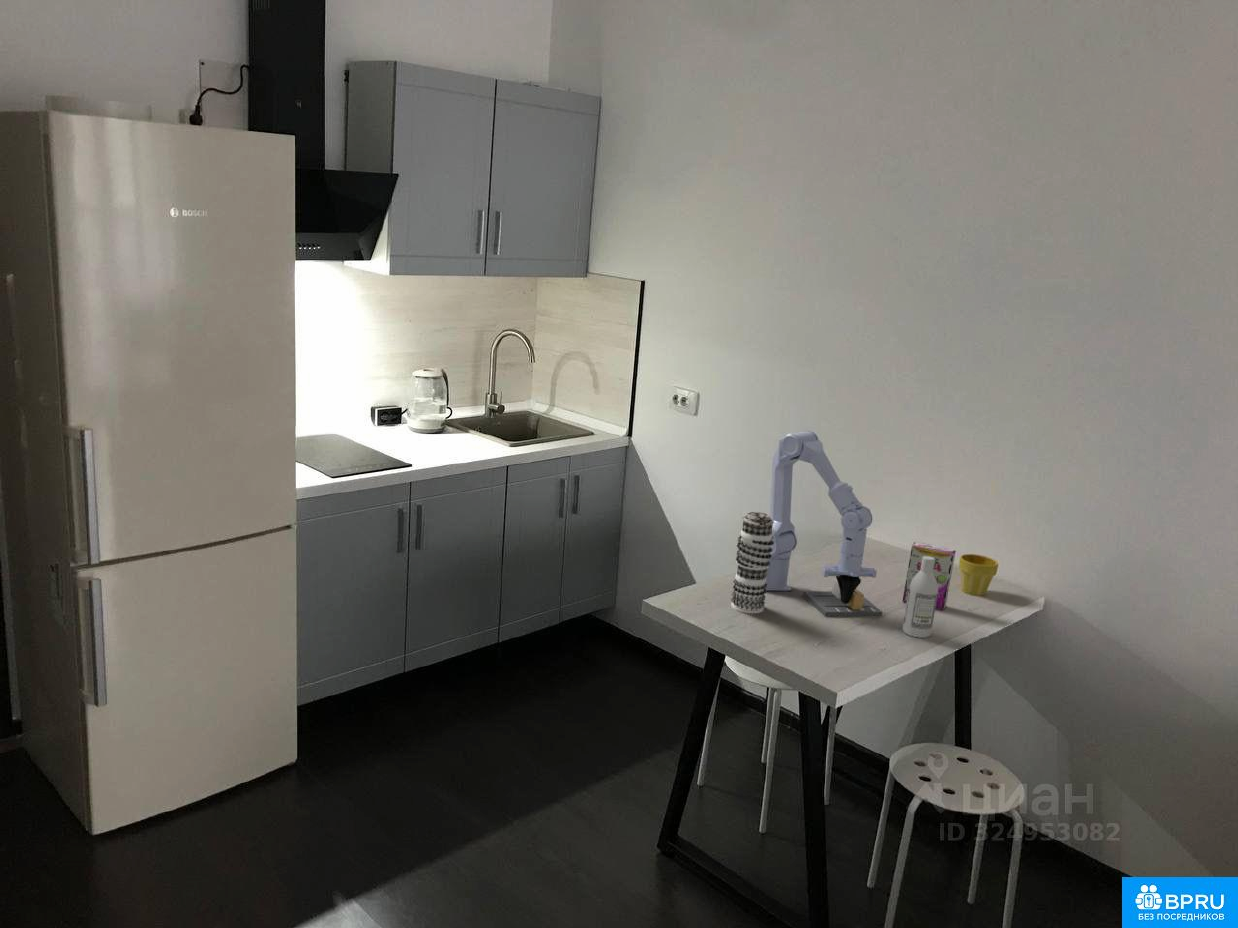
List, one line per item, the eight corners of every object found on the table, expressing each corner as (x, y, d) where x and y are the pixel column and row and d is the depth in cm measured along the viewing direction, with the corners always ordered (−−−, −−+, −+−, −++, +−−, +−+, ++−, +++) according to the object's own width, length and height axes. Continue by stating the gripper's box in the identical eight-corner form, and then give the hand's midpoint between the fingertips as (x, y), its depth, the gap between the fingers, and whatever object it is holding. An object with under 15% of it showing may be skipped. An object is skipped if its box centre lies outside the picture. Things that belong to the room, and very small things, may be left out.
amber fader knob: (853, 609, 269) (855, 594, 268) (845, 603, 273) (847, 588, 273) (861, 609, 270) (864, 594, 269) (854, 603, 274) (856, 588, 273)
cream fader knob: (838, 598, 276) (840, 584, 275) (831, 592, 280) (834, 578, 280) (847, 598, 277) (849, 584, 276) (840, 592, 281) (842, 578, 280)
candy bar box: (901, 602, 282) (911, 545, 278) (905, 597, 286) (914, 540, 283) (943, 611, 278) (953, 553, 274) (946, 606, 282) (956, 549, 278)
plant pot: (987, 601, 289) (993, 568, 287) (950, 591, 295) (955, 558, 292) (996, 592, 298) (1002, 560, 295) (960, 582, 303) (966, 551, 301)
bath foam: (936, 637, 259) (949, 561, 254) (915, 639, 255) (927, 563, 251) (917, 626, 265) (929, 552, 260) (896, 629, 262) (908, 554, 257)
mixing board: (825, 616, 266) (825, 611, 266) (802, 595, 280) (803, 591, 280) (882, 616, 270) (882, 612, 269) (857, 595, 284) (857, 591, 283)
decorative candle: (770, 606, 269) (782, 514, 264) (757, 616, 261) (769, 522, 256) (737, 598, 273) (748, 507, 268) (724, 607, 265) (735, 514, 260)
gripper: (832, 557, 262) (825, 607, 265) (884, 558, 266) (876, 608, 269) (821, 548, 269) (814, 597, 272) (872, 549, 272) (865, 598, 275)
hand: (844, 602), depth 271 cm, fingers closed
